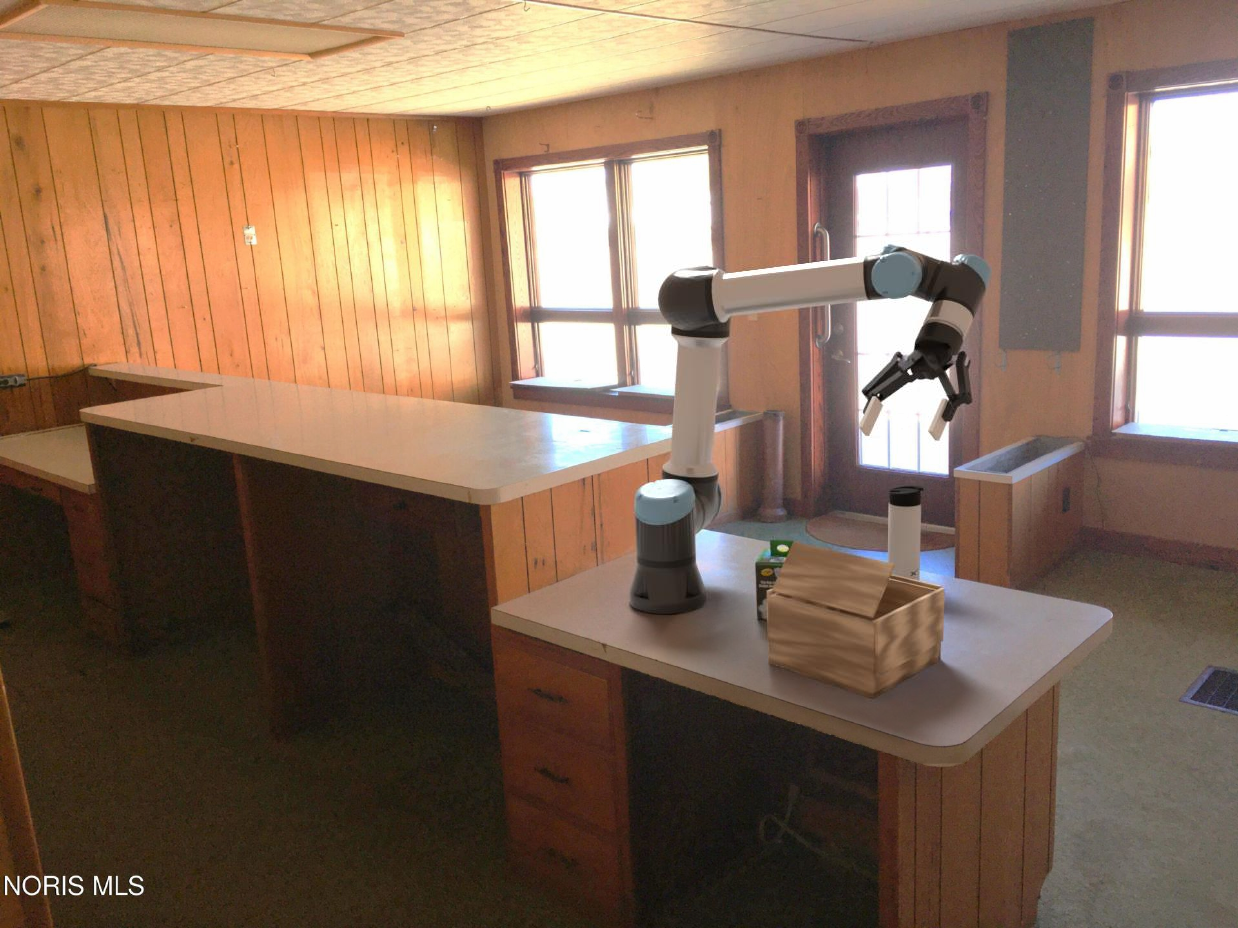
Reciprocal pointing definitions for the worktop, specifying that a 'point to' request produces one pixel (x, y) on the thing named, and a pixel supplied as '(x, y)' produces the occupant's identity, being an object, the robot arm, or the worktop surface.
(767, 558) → the chalk box
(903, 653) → the light wood open box
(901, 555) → the travel mug
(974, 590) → the worktop surface
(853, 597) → the flap
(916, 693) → the worktop surface
